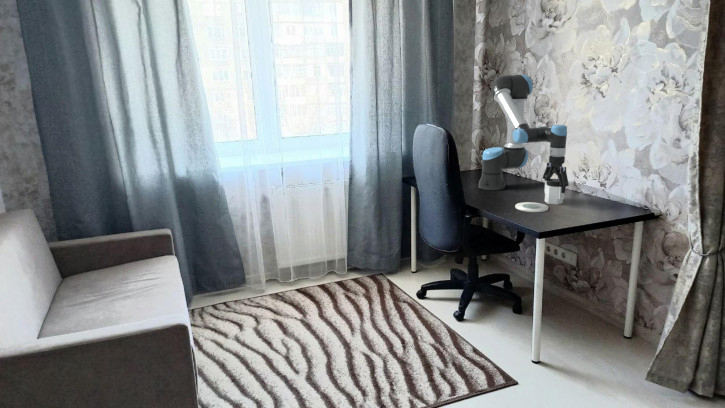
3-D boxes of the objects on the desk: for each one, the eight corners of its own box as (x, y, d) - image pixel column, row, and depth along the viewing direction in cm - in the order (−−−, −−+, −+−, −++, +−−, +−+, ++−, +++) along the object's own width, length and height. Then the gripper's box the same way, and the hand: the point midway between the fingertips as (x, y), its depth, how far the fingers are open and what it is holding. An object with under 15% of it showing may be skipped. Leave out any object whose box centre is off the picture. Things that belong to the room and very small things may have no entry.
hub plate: (509, 205, 257) (509, 203, 256) (537, 202, 259) (537, 201, 259) (525, 213, 241) (525, 211, 241) (554, 210, 244) (554, 209, 244)
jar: (554, 205, 253) (556, 182, 250) (541, 202, 260) (543, 180, 257) (565, 202, 258) (567, 180, 255) (552, 199, 265) (553, 177, 261)
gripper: (537, 152, 263) (535, 190, 269) (564, 160, 240) (561, 202, 246) (550, 151, 265) (547, 189, 270) (578, 159, 241) (574, 201, 247)
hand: (554, 195), depth 258 cm, fingers open, 13 cm apart
